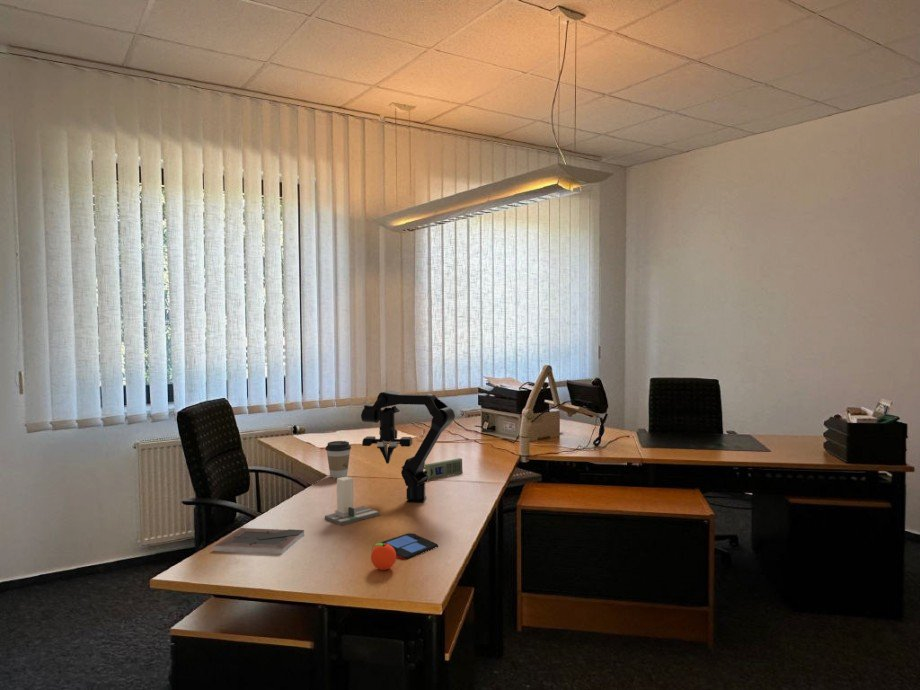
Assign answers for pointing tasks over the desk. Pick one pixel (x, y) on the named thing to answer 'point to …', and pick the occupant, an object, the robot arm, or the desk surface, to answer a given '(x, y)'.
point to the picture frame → (259, 541)
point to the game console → (410, 545)
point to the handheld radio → (443, 468)
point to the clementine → (383, 556)
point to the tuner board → (360, 514)
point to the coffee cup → (338, 458)
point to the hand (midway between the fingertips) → (387, 463)
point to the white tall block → (345, 497)
